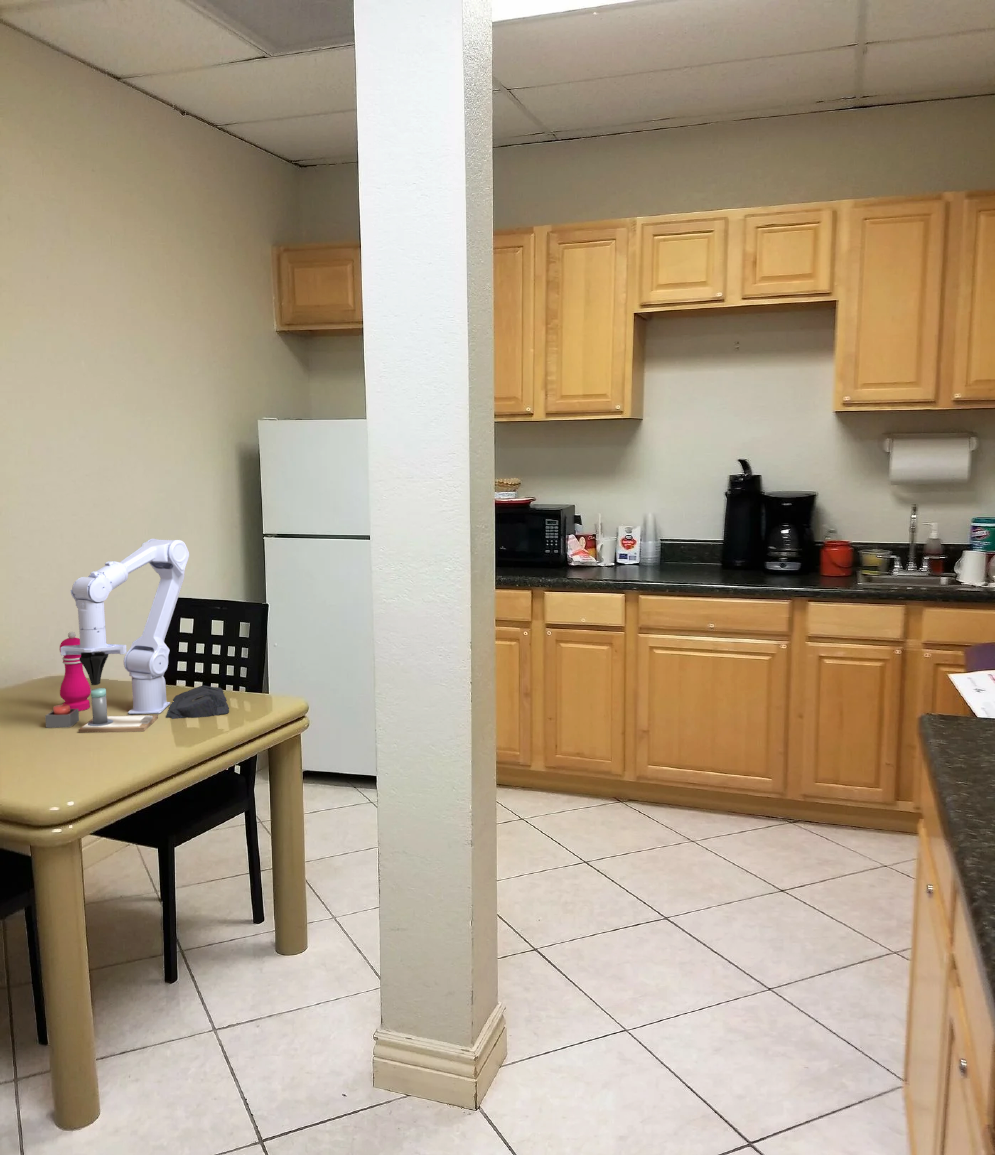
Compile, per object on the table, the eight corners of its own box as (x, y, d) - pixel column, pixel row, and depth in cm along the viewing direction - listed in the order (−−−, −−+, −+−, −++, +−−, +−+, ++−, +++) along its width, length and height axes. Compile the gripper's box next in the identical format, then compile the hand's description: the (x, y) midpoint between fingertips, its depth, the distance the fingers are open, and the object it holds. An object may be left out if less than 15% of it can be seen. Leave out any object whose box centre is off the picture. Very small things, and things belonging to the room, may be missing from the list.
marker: (95, 720, 224) (93, 688, 223) (109, 720, 224) (107, 687, 223) (90, 724, 221) (88, 691, 220) (105, 724, 221) (102, 691, 220)
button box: (55, 721, 228) (54, 709, 227) (79, 720, 228) (78, 708, 228) (46, 727, 222) (45, 715, 222) (70, 727, 223) (69, 715, 222)
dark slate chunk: (231, 695, 253) (230, 678, 253) (229, 717, 232) (228, 698, 232) (171, 699, 250) (170, 681, 249) (164, 722, 228) (163, 703, 228)
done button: (57, 712, 227) (56, 704, 226) (72, 712, 227) (72, 704, 227) (51, 716, 223) (50, 708, 223) (66, 716, 223) (66, 708, 223)
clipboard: (95, 719, 229) (95, 713, 229) (158, 718, 230) (157, 711, 230) (78, 732, 218) (78, 726, 218) (144, 731, 219) (143, 724, 219)
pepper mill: (54, 711, 236) (49, 633, 234) (73, 704, 243) (68, 628, 241) (79, 713, 235) (74, 635, 232) (98, 705, 242) (93, 629, 239)
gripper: (53, 631, 215) (57, 688, 217) (118, 630, 216) (121, 687, 218) (65, 625, 222) (69, 681, 224) (128, 624, 223) (131, 680, 225)
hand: (95, 684), depth 222 cm, fingers closed
